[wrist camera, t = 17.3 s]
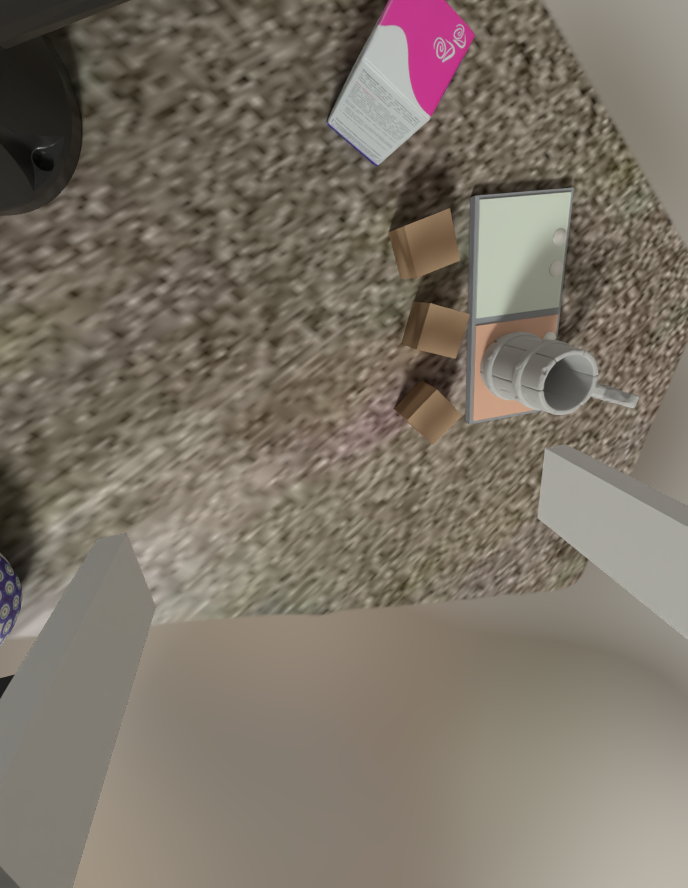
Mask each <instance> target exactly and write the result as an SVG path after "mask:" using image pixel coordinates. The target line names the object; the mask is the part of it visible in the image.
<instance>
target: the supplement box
mask: <svg viewBox="0 0 688 888" xmlns="http://www.w3.org/2000/svg"><path fill="white" fill-rule="evenodd" d="M474 37H475V34H474V33H473V31H472V30H471V29H470V28H469V27H468V25H467V24H466V23H465V22H464V21H463V20H462V19H461V18H460V16H459V15H458V14H457V13H456V12H455V11H454V10H453V9H452V8H451V7H450V6H449V4H448V3H447V2H446V1H445V0H388V2H387V4H386V6H385V8H384V10H383V11H382V13H381V15H380V17H379V19H378V21H377V23H376V25H375V27H374V29H373V31H372V32H371V34H370V36H369V38H368V40H367V42H366V43H365V45H364V47H363V49H362V51H361V53H360V55H359V57H358V58H357V60H356V62H355V64H354V66H353V68H352V70H351V72H350V74H349V76H348V78H347V80H346V82H345V84H344V86H343V88H342V90H341V92H340V94H339V96H338V98H337V100H336V102H335V105H334V107H333V109H332V111H331V113H330V116H329V118H328V120H327V122H326V124H327V125H328V126H329V127H330V128H331V129H332V130H334V131H335V132H336V133H337V134H338V135H340V136H341V137H342V138H343V139H344V140H346V141H347V142H348V143H349V144H350V145H352V146H353V147H354V148H355V149H356V150H357V151H358V152H360V153H361V154H362V155H363V156H364V157H365V158H367V159H368V160H369V161H370V162H371V163H373V164H374V165H375V166H378V165H379V164H380V163H381V162H383V161H384V160H385V159H386V158H387V157H388V156H389V155H390V154H392V153H393V152H394V151H395V150H396V149H397V148H398V147H399V146H400V145H402V144H403V143H404V142H405V141H406V140H407V139H408V138H409V137H411V136H412V135H413V134H414V133H415V132H416V131H417V130H418V129H419V128H421V127H422V126H423V125H424V124H425V123H426V122H427V121H429V119H430V118H431V116H432V114H433V112H434V111H435V109H436V107H437V105H438V103H439V102H440V100H441V98H442V96H443V94H444V92H445V90H446V89H447V87H448V85H449V83H450V81H451V79H452V77H453V76H454V74H455V72H456V70H457V68H458V66H459V64H460V63H461V61H462V59H463V57H464V55H465V53H466V51H467V50H468V48H469V46H470V44H471V42H472V40H473V39H474Z"/></svg>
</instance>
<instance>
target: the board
mask: <svg viewBox="0 0 688 888" xmlns="http://www.w3.org/2000/svg"><path fill="white" fill-rule="evenodd" d="M573 191H574V188H562V189H550V190H538V191H526V192H514V193H502V194H490V195H478V196H473V197H471V198H470V231H469V277H468V314H470V317H469V320H468V323H467V368H466V414H465V422H467V423H468V424H474V423H479V422H485V421H490V420H496V419H501V418H506V417H512V416H517V415H523V414H528V413H534V412H539V411H543V410H533V409H530V408H528V407H526V406H524V405H522V404H521V403H520V402H518V401H516V400H504V399H501V398H499V397H497V396H495V395H494V394H492V393H491V392H490V391H489V389H488V388H487V387H486V386H485V385H484V382H483V380H482V378H481V375H480V372H481V371H480V364H481V360H482V357H483V355H484V353H485V351H486V349H487V348H488V346H489V345H490V344H491V343H492V342H495V340H496V339H497V338H499V337H500V336H502V335H505V334H510V333H513V332H529V333H532V334H535V335H536V336H538V337H539V338H540V339H543V340H544V339H549V340H557V336H558V327H559V318H560V309H561V300H562V291H563V282H564V273H565V264H566V255H567V246H568V237H569V228H570V219H571V210H572V200H573Z"/></svg>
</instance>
